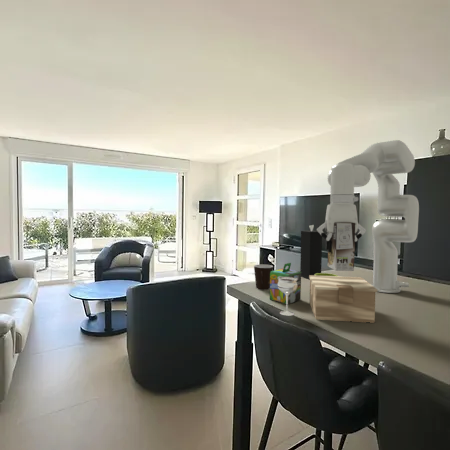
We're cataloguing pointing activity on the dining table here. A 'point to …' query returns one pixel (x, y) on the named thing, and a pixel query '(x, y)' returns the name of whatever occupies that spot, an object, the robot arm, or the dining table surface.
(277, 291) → the chalk box
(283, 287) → the wineglass
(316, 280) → the lid
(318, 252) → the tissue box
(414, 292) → the dining table surface
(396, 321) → the dining table surface
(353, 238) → the coffee box
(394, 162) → the robot arm
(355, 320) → the box
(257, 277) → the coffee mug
